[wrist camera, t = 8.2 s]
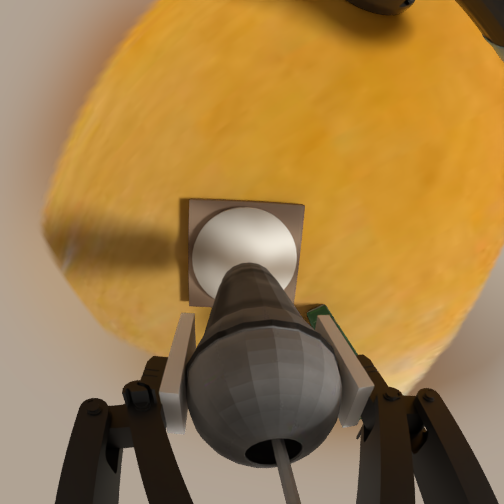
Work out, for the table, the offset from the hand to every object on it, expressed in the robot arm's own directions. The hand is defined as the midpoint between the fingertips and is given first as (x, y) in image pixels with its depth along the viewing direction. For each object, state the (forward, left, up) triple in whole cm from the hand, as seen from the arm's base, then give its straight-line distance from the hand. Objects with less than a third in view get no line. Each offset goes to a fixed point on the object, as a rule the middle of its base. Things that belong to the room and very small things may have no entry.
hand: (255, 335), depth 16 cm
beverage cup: (0, 0, -7) cm, 7 cm away
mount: (0, 0, -16) cm, 16 cm away
